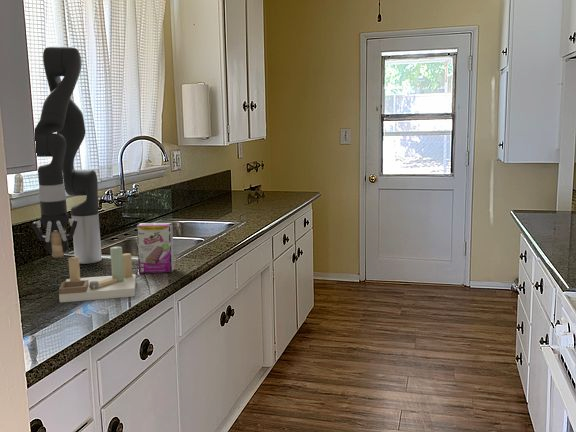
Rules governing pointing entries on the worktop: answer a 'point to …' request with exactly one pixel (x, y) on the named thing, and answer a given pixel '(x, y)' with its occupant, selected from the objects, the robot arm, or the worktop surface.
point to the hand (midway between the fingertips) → (57, 252)
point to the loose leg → (56, 244)
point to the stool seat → (80, 286)
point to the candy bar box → (155, 247)
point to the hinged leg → (116, 269)
